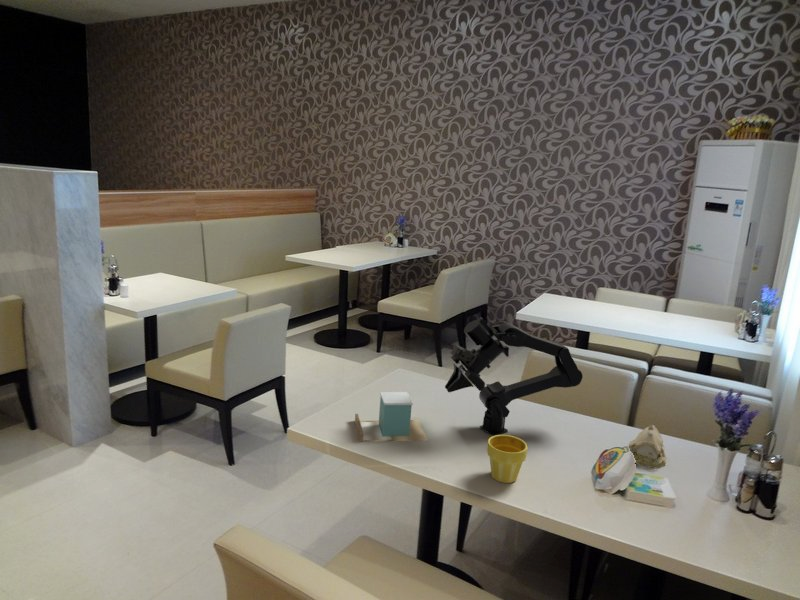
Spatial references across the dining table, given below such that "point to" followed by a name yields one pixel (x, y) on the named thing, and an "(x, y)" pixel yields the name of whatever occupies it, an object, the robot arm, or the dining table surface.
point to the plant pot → (506, 457)
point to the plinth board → (372, 433)
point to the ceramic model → (648, 448)
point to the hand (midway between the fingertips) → (446, 389)
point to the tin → (395, 413)
